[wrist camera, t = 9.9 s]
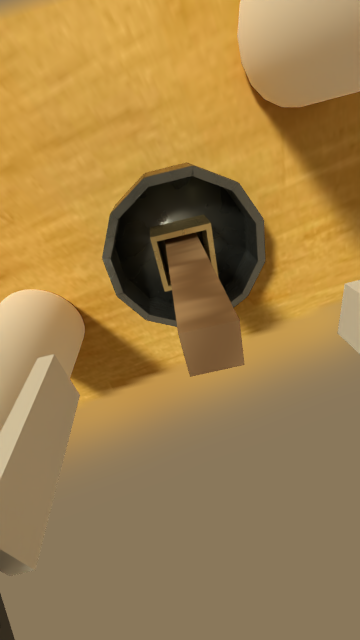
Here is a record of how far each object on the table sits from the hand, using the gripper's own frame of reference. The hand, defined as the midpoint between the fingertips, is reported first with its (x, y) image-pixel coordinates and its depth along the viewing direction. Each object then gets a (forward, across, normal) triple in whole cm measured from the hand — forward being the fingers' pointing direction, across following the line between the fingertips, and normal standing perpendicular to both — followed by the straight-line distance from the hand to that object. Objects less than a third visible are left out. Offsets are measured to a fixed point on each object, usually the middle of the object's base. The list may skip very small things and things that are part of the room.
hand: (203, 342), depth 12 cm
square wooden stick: (+13, +1, 0) cm, 13 cm away
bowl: (+14, +1, 0) cm, 14 cm away
